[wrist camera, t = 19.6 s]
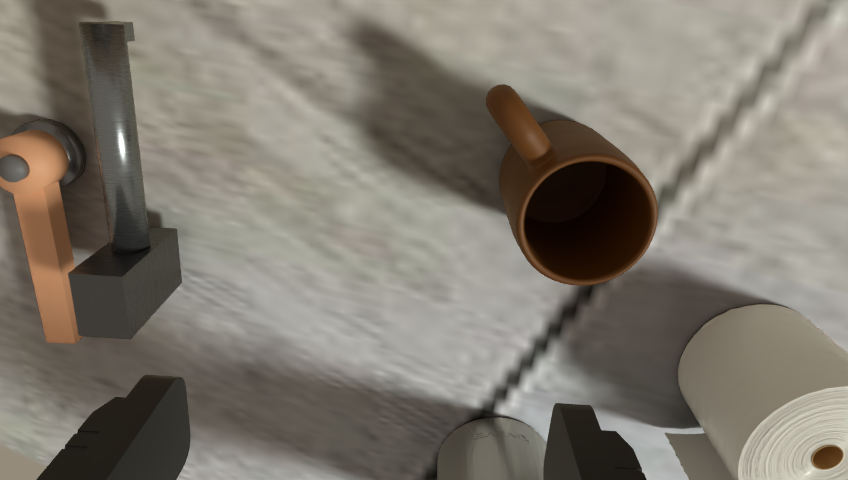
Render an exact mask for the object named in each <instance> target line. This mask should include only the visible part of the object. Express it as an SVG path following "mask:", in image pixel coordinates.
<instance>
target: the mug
mask: <svg viewBox="0 0 848 480" xmlns="http://www.w3.org/2000/svg"><path fill="white" fill-rule="evenodd" d="M486 106H487V108H488V110H489V112H490V114H491V115H492V117H493V118H494V120H495V121H496V123H497V124H498V126H499V127H500V129H501V130H502V131H503V133H504V134H505V136H506V137H507V139H508V140H509V141H510V143H511V144H512V145H511V146H510V148H509V149H508V151H507V153H506V154H505V157H504V159H503V162H502V165H501V169H500V176H499V185H500V192H501V196H502V200H503V203H504V207H505V210H506V213H507V217H508V220H509V223H510V226H511V229H512V232H513V235H514V237H515V239H516V242H517V244H518V245H519V247H520V249H521V251H522V253H523V254H524V256H525V257H526V259H527V260H528V262H529V263H530V264H531V265H532V266H533V267H534V268H535V269H536V270H537V271H539V272H540V273H541V274H543V275H544V276H546V277H548V278H550V279H552V280H554V281H557V282H560V283H564V284H569V285H592V284H598V283H602V282H605V281H608V280H611V279H613V278H615V277H617V276H619V275H621V274H623V273H624V272H625V271H627V270H628V269H630V268H631V267H632V266H633V265H634V264H635V263H637V261H638V260H639V259H640V258H641V257H642V256H643V254H644V253H645V252H646V250H647V249H648V247H649V245H650V243H651V241H652V239H653V236H654V233H655V230H656V226H657V219H658V206H657V201H656V197H655V194H654V191H653V189H652V187H651V185H650V183H649V181H648V180H647V179H646V177H645V176H644V175H643V173H642V172H641V171H640V170H639V168H638V167H637V166H636V165H635V164H634V163H633V162H632V161H631V160H630V159H629V158H628V157H627V156H626V155H625V154H624V153H622V152H621V151H620V150H619V149H618V148H616V147H615V146H614V145H613V144H612V143H610V142H609V141H607V140H606V139H605V138H604V137H602V136H601V135H600V134H599V133H597V132H596V131H594V130H593V129H591V128H589V127H588V126H586V125H583V124H580V123H578V122H573V121H566V120H556V121H549V122H544V123H541V124H538V123H537V121H536V120H535V119H534V117H533V116H532V114H531V113H530V111H529V110H528V108H527V107H526V106H525V104H524V103H523V101H522V100H521V98H520V97H519V96H518V94H517V93H516V92H515V90H514V89H512V88H511V87H510V86H507V85H497V86H495V87H493V88H492V89H491V90H490V91H489V92H488V95H487V97H486Z"/></svg>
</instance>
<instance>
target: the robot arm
mask: <svg viewBox="0 0 848 480" xmlns="http://www.w3.org/2000/svg"><path fill="white" fill-rule="evenodd" d="M189 447H190V425H189V415H188V405H187V396H186V386H185V382H184V379H183V378H182V377H172V376H156V375H145V376H143V377H142V378H141V379H140V380H139V382H138V383H137V384H136V386H135V387H134V388H133V389H132V391H131V392H130V393H129V395H128V396H127V397H126V398H123V397H115V398H114V399H112V400H111V401H109V402H108V403H106V404H104V405H103V406H101V407H100V408H98V409H97V410H95V411H94V412H93V413H92V414H91V415H90V416H89V417H88V419H87V420H86V421H85V422H84V423H83V425H82V426H81V427H80V428H79V429H78V433H77V434H74V435H73V437H72V438H71V439H70V440H69V441H68V443H67V444H66V445H65V449H62V450H61V451H60V452H59V453H58V455H57V456H56V457H55V458H54V459H53V460H52V462H51V463H50V464H49V465H48V466H47V468H46V469H45V470H44V471H43V472H42V474H41V475H40V476H39V477H38V479H37V480H176V479H177V477H178V475H179V474H180V472H181V470H182V468H183V466H184V464H185V462H186V459H187V456H188V452H189ZM437 480H646V478H645V475H644V473H642V468H641V466H640V464H639V461H638V459H637V457H636V455H635V452H634V450H633V448H632V447H631V446H630V445H629V444H628V443H627V442H626V441H625V440H624V439H623V438H622V437H621V436H620V435H619V434H618V433H617V432H616V431H603V430H601V429H600V426H599V423H598V421H597V418H596V415H595V413H594V410H593V408H592V407H591V406H590V405H576V404H561V403H556V404H555V405H554V408H553V412H552V417H551V423H550V429H549V434H548V440H547V444H546V443H545V441H544V440H543V438H542V437H541V436H540V435H539V434H538V433H537V432H536V431H535V430H534V429H533V428H531V427H529V426H527V425H526V424H524V423H521V422H519V421H516V420H513V419H507V418H501V417H497V418H484V419H478V420H474V421H472V422H469V423H467V424H464V425H463V426H461V427H459V428H458V429H456V430H455V431H454V432H453V433H451V434H450V435H449V436H448V437H447V438H446V440H445V441H444V443H443V444H442V446H441V448H440V451H439V454H438V461H437Z"/></svg>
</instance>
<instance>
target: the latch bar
mask: <svg viewBox="0 0 848 480" xmlns="http://www.w3.org/2000/svg"><path fill="white" fill-rule="evenodd" d="M68 166H69V160H68V155H67V153H66V150H65V149H64V147H63V145H62V144H61V143H60V142H59V141H58V140H57V139H56V138H55V137H54V136H52V135H50V134H49V133H47V132H44V131H41V130H27V131H24V132H21V133H18V134H14V135H11V136H8V137H5V138H2V139H0V186H1V187H2V188H3V189H5V190H7V191H9V192H11V193H13V195H14V199H15V204H16V208H17V213H18V217H19V222H20V226H21V230H22V235H23V239H24V244H25V248H26V253H27V257H28V262H29V266H30V270H31V275H32V279H33V284H34V288H35V293H36V297H37V302H38V306H39V310H40V315H41V319H42V324H43V328H44V333H45V337H46V342H49V343H70V344H75V343H77V342H78V341H79V340H80V339H81V338H82V337H83V336H79V334H78V329H77V323H76V317H75V311H74V306H73V300H72V294H71V288H70V283H69V277H68V273H69V272H70V271H72V270H73V269H74V268H75V264H74V259H73V254H72V249H71V243H70V238H69V233H68V228H67V223H66V218H65V212H64V207H63V202H62V197H61V192H60V187H59V181H60V180H61V179H63V178H64V176H65V175H66V173H67V171H68Z"/></svg>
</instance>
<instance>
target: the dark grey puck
mask: <svg viewBox="0 0 848 480" xmlns="http://www.w3.org/2000/svg"><path fill="white" fill-rule="evenodd" d="M27 130H41V131H44V132H47V133H49V134H50V135H52V136H54V137H55V138H56V139H57V140H58V141H59V142H60V143H61V144H62V145H63V147H64V149H65V150H66V153H67V155H68V160H69V166H68V171H67V173H66V175H65V176H64V178H63V179H61V180H60V181H59V187H63V186H65V185H67V184H69V183H71V182H73V181H75V180H76V179H77V178H78V177H80V175H81V174H82V172H83V171H84V168H85V164H86V155H85V150H84V147H83V145H82V143H81V141H80V140H79V138H78V137H77V136H76V134H75V133H74V132H73V131H72V130H70V129H69V128H68V127H66V126H65V125H63V124H61V123H59V122H56V121H53V120H37V121H33V122H30V123H27V124H24V125H22V126H20V127H19V128H17V129H16V130H15V131H14V133H13V134H12V135H14V134H18V133H21V132H24V131H27Z"/></svg>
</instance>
